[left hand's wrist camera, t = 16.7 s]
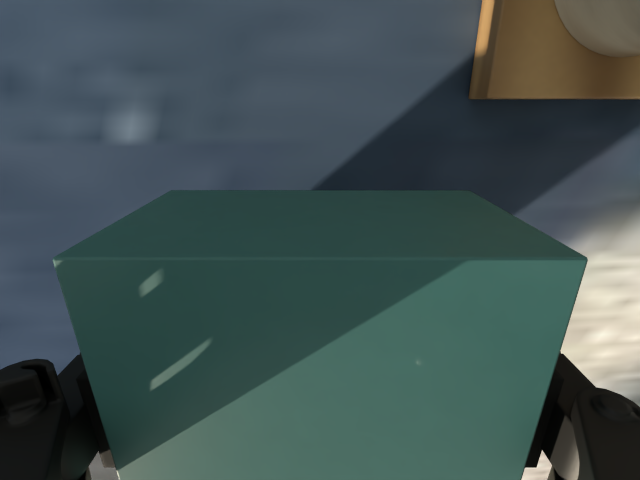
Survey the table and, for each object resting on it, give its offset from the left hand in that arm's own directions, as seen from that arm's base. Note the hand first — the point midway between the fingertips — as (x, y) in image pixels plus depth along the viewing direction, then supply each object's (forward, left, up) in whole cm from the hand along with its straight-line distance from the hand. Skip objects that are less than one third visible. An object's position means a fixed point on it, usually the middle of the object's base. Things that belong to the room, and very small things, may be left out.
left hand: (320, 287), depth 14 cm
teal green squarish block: (0, 0, +2) cm, 2 cm away
